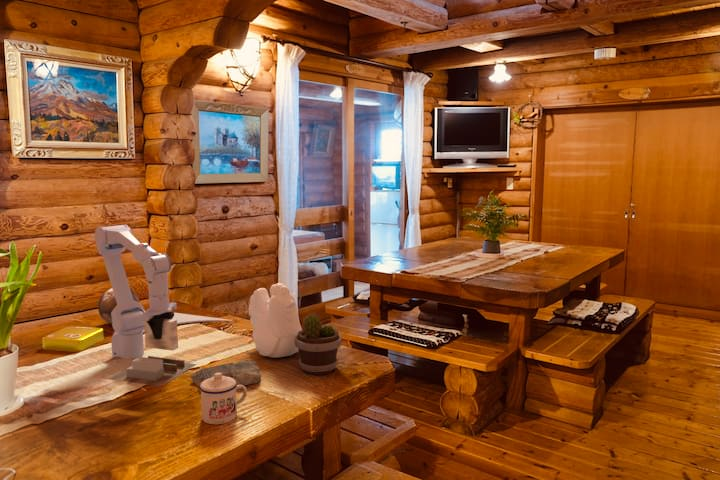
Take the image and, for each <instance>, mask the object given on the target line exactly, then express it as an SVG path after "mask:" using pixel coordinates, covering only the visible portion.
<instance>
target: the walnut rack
mask: <svg viewBox="0 0 720 480" xmlns="http://www.w3.org/2000/svg"><path fill="white" fill-rule="evenodd" d="M147 358H153V359H161V360H163V368H164V376H163V377H161V378H159V379H157V380H156V381H154V380H147V379H140V378H133V377H127V372H126V369H125V370H123V371H121V372H119V373H117V374H115V375H113V376H111V377H109V378H108V379H109V380H114V381H119V382H127V383H132V384H133V383H134V384H140V385H149V386H155V387H162V386H164V385H166V384H168V382H170V381H172V380H174V379H176V378H177V377H179V376H180V375H181V374H184V373H185V372H187V371H189V370H190V369H192V368H193V367H195V366H197V363H191V362H185V360H184V359H179V358H177V359H176V358H169V357H160V356H153V355H148V356H147Z"/></svg>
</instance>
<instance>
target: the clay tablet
mask: <svg viewBox="0 0 720 480" xmlns="http://www.w3.org/2000/svg"><path fill="white" fill-rule="evenodd" d="M257 365H258V363H257V362H256V361H252V360H245V361H239V362H236V363H233V362H229V363H223V364H218V365H215V366H209V367H204V368H201V369H198V370H196V371H195V372H193V373H192V374H191V375H190V379H191V380H192V382H193V383H194V384H195V385H196V386H197V387H200V385H201V383H202V382H203V381H205V380H206V379H209V378H211V377H214V374H215V373H222V376H225V377H231V378H233V379H234V380H235V381H236V383H237V385H243V386H245V387H246V386H247V385H249V386H250V385H254V384H257V383H259V382H260V381H261V373H260V367H258V366H257Z"/></svg>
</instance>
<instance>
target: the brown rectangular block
mask: <svg viewBox="0 0 720 480" xmlns="http://www.w3.org/2000/svg"><path fill="white" fill-rule="evenodd" d="M144 328H145V333H144V339H145V340H144V343H145V348H148V349H157V350H163V351H164V350H165V351H173V352H174V351H175V350H177V349H178V348H179V337H178V333H179V332H178V325H177V320H174V319H164V322H163V326H162V338H161V339H160V340H159V339H154V336H153V333H152V330H151V328H150V326H149V324H148V323H147V322H146V321H144Z"/></svg>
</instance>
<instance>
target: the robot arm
mask: <svg viewBox="0 0 720 480" xmlns="http://www.w3.org/2000/svg"><path fill="white" fill-rule="evenodd" d="M93 238H94V242H95V246H96V249H97V252H98V254H99V255H101V257H102V258H103V262H104V265H105V269H106V272H107V275H108V279H109V282H110V285H111V288H112V289H113V292H114V296H115V299H116V302H117V306H116V307H115V308H114V309H113V311H112V312H111V316H112V324H111V326H112V328H113V330H114V332H113V334H112V336H111V341H110V343H111V357H110V360H112V359H114V358H121V359H124V360H130V359H131V360H132V359H133V360H134V359H137V358H139V357H144V354H145V348H144V333H143V330H145V328H144V321H146V322H147V323H148V324H149V326H150V328H151V330H152V333H153V336H154V339H159V340H160V339H161V338H162V326H163V322H164V319H172V318H173V317H174V313H175V312H174V310H177V309H178V305H177V302H170V295H169V274H168V273H169V272H170V271H171V269H172V261H171V258H170V256H169V255H168V254H167V253H159V252H158V251H156V250H155V249H153V248H152V247H151V246H150V245H149V243H147V242H139V240H138V239H137V238H136V237H135V236H134V235H133V233H132V229H131V227H129V226H128V225H127V224H123V223H122V224H119V225H110V226H98V227H96V229H95V231H94V237H93ZM126 250H128V251H131V256H132V258H133V259H135V260H136V261H137V262H138V263H139V264H140V265H142V268H143V271H144V274H145V279H146V281H147V285H148V303H149V304H148V306H149V307H148V309H147V310H145V308H144V306H143V304H142V303H138V302H136V301H134V300H133V297H132V293H131V290H132V289H131V287H130V283H129V280H128V278H127V275H126V271H125V268H124V264H123V261H122V257H121V254H122V253H124V252H125V251H126ZM130 289H131V290H130ZM128 311H131V312H128ZM124 312H126V313H124ZM121 313H122V314H121Z"/></svg>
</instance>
